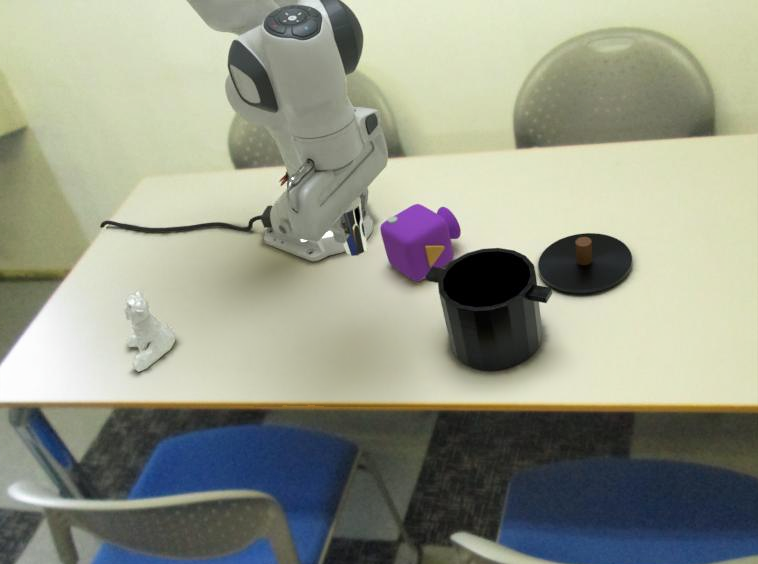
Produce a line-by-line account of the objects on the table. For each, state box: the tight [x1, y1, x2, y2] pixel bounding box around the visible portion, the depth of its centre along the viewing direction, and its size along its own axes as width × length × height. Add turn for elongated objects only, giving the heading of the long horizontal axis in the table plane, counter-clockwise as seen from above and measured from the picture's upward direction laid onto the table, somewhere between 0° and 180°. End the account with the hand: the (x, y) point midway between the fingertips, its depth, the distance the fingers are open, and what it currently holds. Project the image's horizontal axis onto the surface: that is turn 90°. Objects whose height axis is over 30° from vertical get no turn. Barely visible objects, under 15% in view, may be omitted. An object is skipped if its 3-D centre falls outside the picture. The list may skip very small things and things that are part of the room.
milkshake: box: [339, 197, 368, 257], centre depth 114 cm, size 4×5×10 cm
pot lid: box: [537, 232, 633, 294], centre depth 135 cm, size 16×16×5 cm
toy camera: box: [379, 203, 462, 282], centre depth 143 cm, size 11×14×10 cm
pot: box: [425, 247, 553, 372], centre depth 124 cm, size 15×20×12 cm
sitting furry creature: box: [123, 289, 176, 373], centre depth 139 cm, size 10×9×12 cm
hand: (352, 228), depth 115 cm, fingers closed on milkshake, 4 cm apart
